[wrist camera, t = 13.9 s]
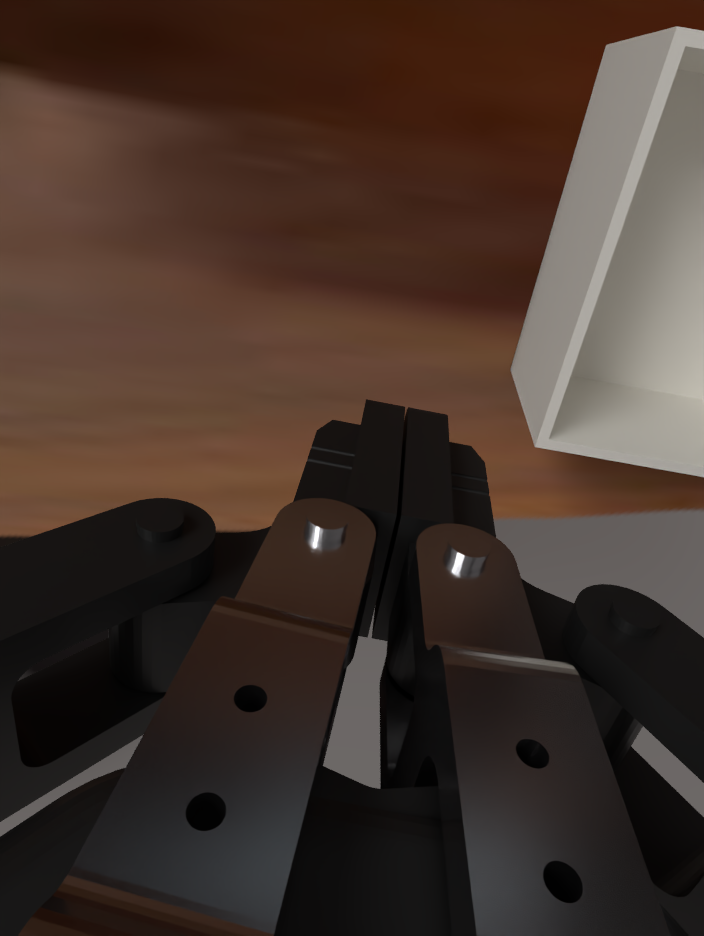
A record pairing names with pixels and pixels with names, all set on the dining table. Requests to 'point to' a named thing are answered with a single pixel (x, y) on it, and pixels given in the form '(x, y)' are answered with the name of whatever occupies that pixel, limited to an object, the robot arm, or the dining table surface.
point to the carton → (626, 270)
